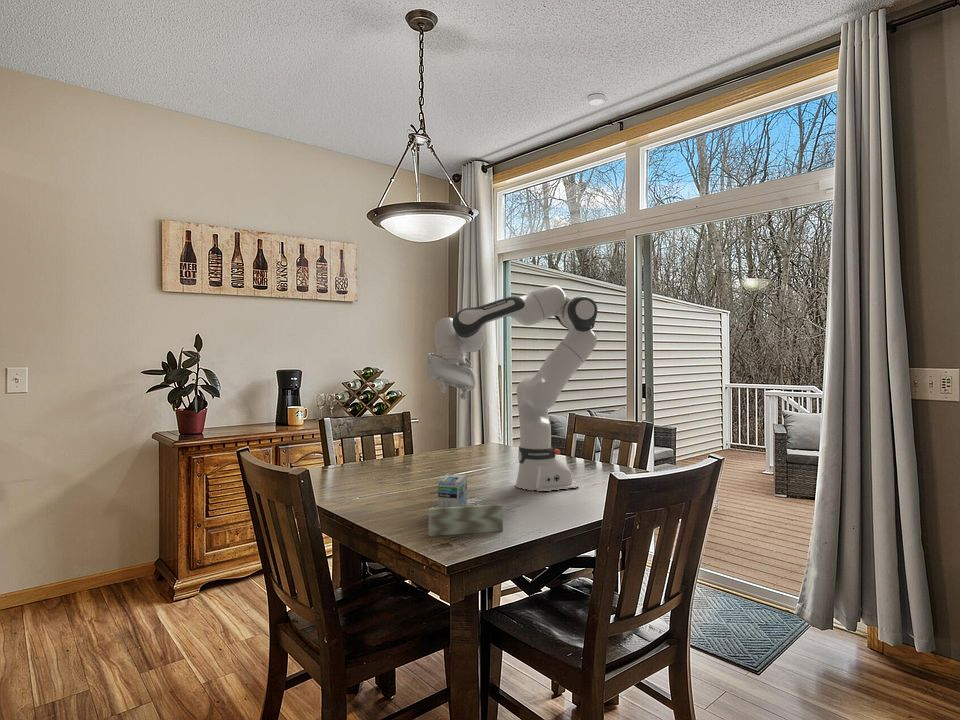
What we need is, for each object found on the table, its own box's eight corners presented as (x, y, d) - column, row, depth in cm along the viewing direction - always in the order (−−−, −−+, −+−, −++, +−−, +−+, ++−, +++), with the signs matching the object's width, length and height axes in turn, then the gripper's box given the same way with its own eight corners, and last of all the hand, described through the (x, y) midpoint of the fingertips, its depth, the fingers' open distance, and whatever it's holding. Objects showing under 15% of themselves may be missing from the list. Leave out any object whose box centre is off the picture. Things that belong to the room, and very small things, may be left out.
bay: (489, 516, 171) (489, 492, 171) (502, 531, 157) (502, 505, 157) (422, 520, 166) (422, 495, 166) (429, 536, 152) (429, 509, 152)
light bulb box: (459, 518, 168) (459, 481, 168) (437, 517, 170) (437, 480, 169) (467, 508, 179) (467, 474, 178) (446, 507, 180) (446, 473, 180)
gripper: (433, 347, 193) (437, 383, 186) (475, 364, 207) (481, 398, 200) (421, 355, 197) (424, 391, 190) (463, 371, 211) (468, 405, 204)
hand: (453, 395), depth 195 cm, fingers open, 8 cm apart
